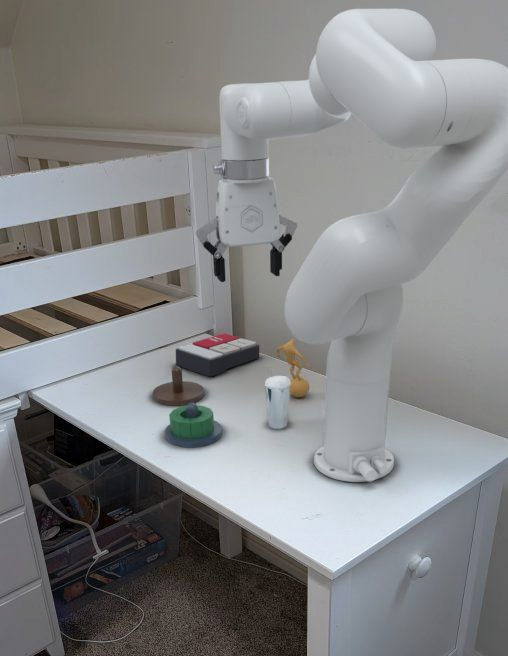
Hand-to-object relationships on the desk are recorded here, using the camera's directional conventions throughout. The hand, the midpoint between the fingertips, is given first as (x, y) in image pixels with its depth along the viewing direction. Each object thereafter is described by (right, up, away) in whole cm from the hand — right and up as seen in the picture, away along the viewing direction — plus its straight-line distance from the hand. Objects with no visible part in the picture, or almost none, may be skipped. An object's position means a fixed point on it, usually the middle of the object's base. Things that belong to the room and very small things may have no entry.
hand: (248, 277), depth 128 cm
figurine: (+9, -19, +15) cm, 26 cm away
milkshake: (+5, -25, +5) cm, 26 cm away
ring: (-10, -26, +2) cm, 28 cm away
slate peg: (-10, -27, +2) cm, 29 cm away
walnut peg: (-13, -18, +18) cm, 29 cm away
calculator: (-6, -10, +33) cm, 35 cm away
